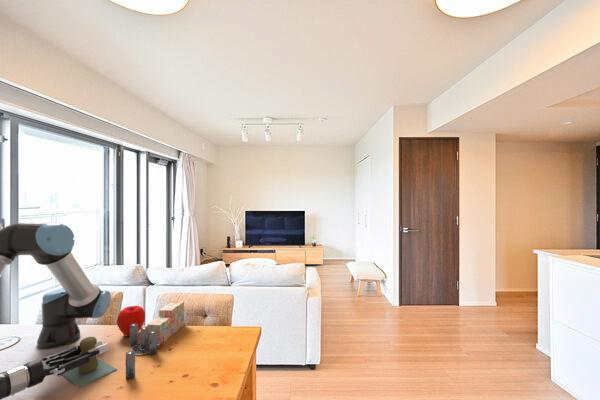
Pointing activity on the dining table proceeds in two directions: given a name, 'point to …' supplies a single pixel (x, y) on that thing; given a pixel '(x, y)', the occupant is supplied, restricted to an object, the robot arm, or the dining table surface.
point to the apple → (130, 318)
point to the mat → (89, 374)
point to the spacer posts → (144, 345)
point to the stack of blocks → (167, 321)
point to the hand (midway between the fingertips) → (103, 345)
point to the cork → (85, 346)
